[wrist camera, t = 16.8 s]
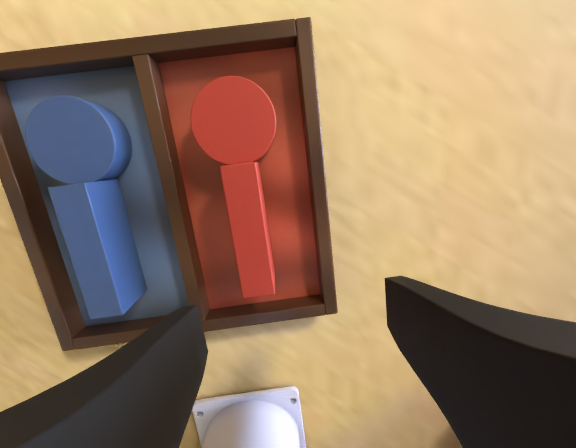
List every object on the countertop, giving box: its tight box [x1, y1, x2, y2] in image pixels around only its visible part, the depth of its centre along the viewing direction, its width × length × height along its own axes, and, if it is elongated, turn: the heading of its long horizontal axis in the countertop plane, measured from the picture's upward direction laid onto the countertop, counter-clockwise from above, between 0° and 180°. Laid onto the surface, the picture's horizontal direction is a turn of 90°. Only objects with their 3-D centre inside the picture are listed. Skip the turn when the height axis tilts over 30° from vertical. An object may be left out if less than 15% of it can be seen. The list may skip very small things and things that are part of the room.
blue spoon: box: [25, 95, 147, 319], centre depth 15 cm, size 12×4×3 cm, turn 7°
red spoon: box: [190, 76, 276, 298], centre depth 15 cm, size 12×4×3 cm, turn 7°
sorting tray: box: [0, 17, 337, 351], centre depth 16 cm, size 17×17×2 cm
